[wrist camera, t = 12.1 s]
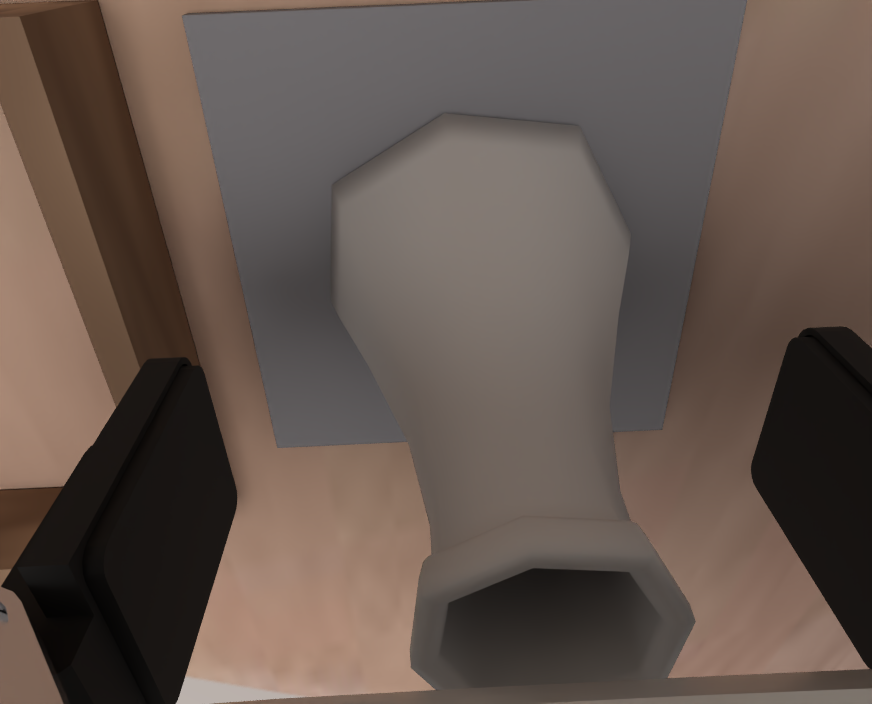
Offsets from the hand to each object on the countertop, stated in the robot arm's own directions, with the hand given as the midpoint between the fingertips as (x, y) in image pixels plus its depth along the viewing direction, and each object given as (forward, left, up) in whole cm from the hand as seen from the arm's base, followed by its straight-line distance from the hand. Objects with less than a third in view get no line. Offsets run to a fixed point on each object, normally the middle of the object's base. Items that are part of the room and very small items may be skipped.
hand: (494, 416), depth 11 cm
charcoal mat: (0, 0, -6) cm, 6 cm away
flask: (0, 0, -6) cm, 6 cm away
